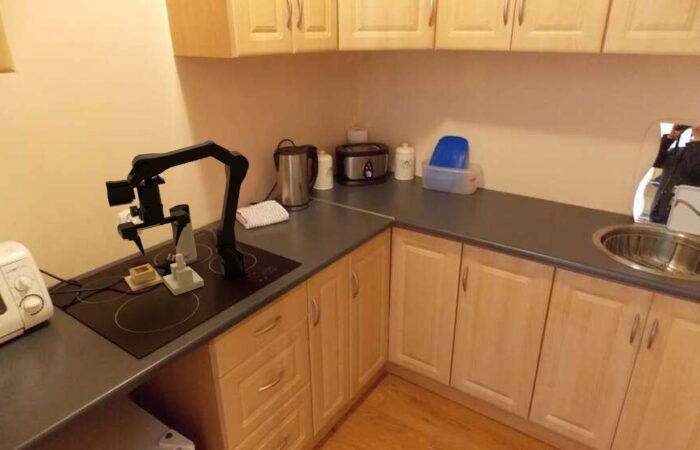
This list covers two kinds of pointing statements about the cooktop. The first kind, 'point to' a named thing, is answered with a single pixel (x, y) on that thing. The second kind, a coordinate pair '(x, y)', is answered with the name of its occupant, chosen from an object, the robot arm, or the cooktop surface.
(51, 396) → the cooktop surface
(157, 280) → the pad
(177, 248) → the travel mug
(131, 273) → the collar
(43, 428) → the cooktop surface
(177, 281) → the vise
